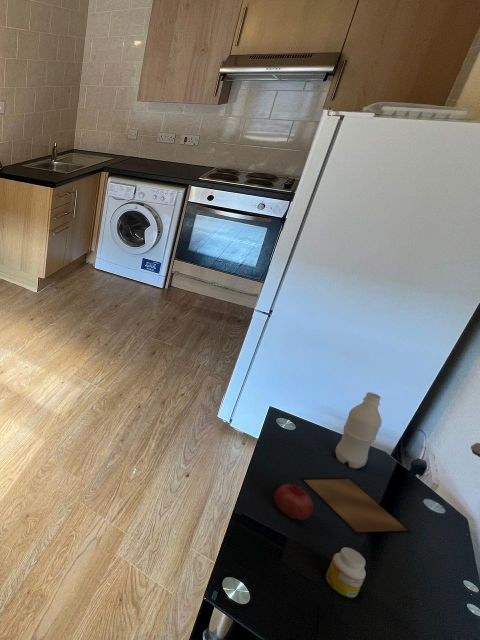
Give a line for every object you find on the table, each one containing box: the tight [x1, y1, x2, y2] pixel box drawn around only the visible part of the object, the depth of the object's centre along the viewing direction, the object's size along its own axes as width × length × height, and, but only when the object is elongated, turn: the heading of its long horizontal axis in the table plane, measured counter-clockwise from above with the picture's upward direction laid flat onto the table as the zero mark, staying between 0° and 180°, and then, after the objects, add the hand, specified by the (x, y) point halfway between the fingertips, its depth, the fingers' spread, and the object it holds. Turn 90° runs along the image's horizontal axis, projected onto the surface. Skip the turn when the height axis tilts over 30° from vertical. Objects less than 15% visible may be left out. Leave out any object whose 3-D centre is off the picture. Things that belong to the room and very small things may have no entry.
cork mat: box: [303, 478, 408, 533], centre depth 112 cm, size 16×14×1 cm
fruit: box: [273, 483, 314, 521], centre depth 108 cm, size 8×8×10 cm
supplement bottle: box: [325, 547, 367, 599], centre depth 90 cm, size 5×5×10 cm
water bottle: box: [334, 392, 382, 469], centre depth 123 cm, size 7×7×25 cm
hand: (479, 463), depth 75 cm, fingers open, 8 cm apart
